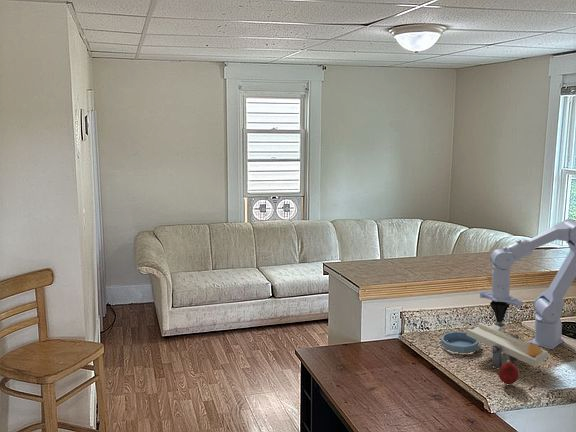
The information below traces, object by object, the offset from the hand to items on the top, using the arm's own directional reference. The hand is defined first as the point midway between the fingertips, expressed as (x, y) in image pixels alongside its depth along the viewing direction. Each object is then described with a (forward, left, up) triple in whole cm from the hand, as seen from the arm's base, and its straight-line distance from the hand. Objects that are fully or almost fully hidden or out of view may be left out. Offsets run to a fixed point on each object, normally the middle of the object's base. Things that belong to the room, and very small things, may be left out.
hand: (499, 321), depth 198 cm
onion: (+23, +16, -9) cm, 30 cm away
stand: (+10, +8, -9) cm, 16 cm away
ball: (+10, +17, -2) cm, 20 cm away
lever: (+6, +8, -3) cm, 10 cm away
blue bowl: (+10, -9, -9) cm, 16 cm away
